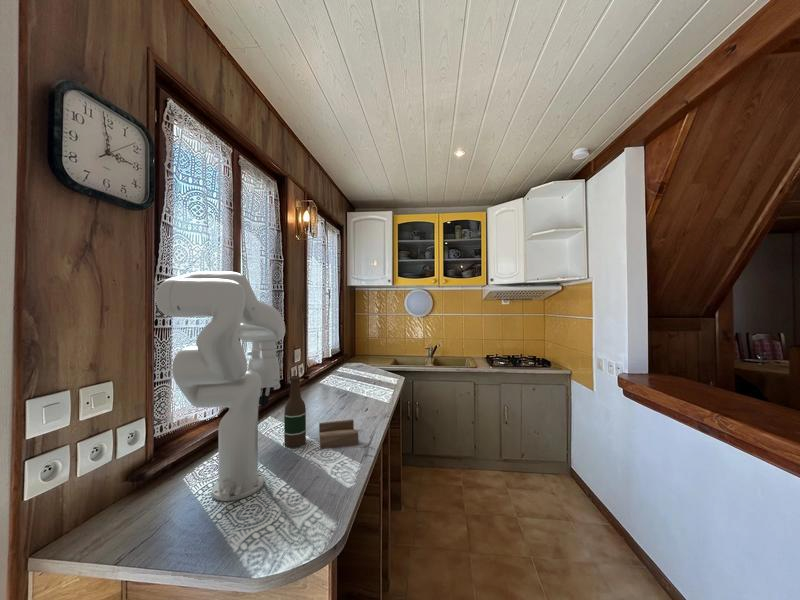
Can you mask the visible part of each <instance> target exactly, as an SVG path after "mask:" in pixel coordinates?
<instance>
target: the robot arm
mask: <svg viewBox="0 0 800 600" xmlns="http://www.w3.org/2000/svg"><path fill="white" fill-rule="evenodd" d="M155 303H156V307H157V308H158V310H159V311H160V312H161V313H162V314H164V315H165V316H167V317H172V318H196V317H197V318H201V317H202V318H209V317H210V318H211V320H210V322H209V323H207V324H206V325H205V326H204V327H203V328H202V330H200V332H199V333H198V335H197V337H196V341H195V345H190V346H186V347H183V348H181V349H180V350H179V351H178V352H177V353H176V354H175V356H174V358H173V360H172V365H171V366H172V372H171V373H172V378H173V379H174V382H175V384H176V386H177V387H178V389H180V391H181V393H182V394H183V396H184V397H185V398H186V400H187V401H188V402H189V404H190V405H192V406H194V407H195V408H198V409H199V408H200V409H204V408H205V409H207V408H228V411H227V412H226V413H225V414H224V415H223V417H222V418H221V419H220V421H219V425H218V467H217V468H218V471H217V472H218V481H217V482H216V483H215V484H214V485H213V486H212V488H211V496H212V498H213V499H215V500H217V501H222V502H230V501H237V500H241V499H244V498H247V497H248V496H251V495H253V494H255V493H257V492H258V491H259V490H260V489H261V488H262V487H263V486H264V483H265V477H264V474H262V473H260V472H259V464H258V463H259V461H258V460H259V448H258V447H259V430H258V429H259V406H260V408H261V409H263V408H267V406H268V405H269V404H270V394H271V393H272V392H273V391H276V390H279V389H280V388H281V383H280V379H281V378H280V364H279V359H278V356H276V342H279V341H282V340H283V338H284V337H285V335H286V324H285V321H284V319H283V316H282V314H281V312H280V311H279V310H277V308H275V307H273V306H271V305H269V304H267V303H265V302H263V301H261V300H259V299H258V298H257V296H256V294H255V292H254V289H253V288H252V285H250V282H249V280H248V279H247V278H246V277H245V275H243V274H241V273H239V272H236V271H209V270H208V271H203V270H202V271H193V272H190V273H185V274H182V275H178V276H174V277H170V278H167V279H165V280H163V282H161V284H159V286H158V288H157V290H156V293H155ZM240 340H241V341H243V342H245V343H252V344H251V350H249V351H247V356H251V358H250V359H248V360H247V357H246V353H245V351H244V349H243V346H242V343H241V341H240ZM264 388H265V392H263V389H264Z"/></svg>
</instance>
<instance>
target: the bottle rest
mask: <svg viewBox="0 0 800 600" xmlns="http://www.w3.org/2000/svg"><path fill="white" fill-rule="evenodd" d="M318 423H319V424H318V425H319V426H318V427H319V428H318V429H319V430H318V434H319V446H320V448H319V449H320V450H322V449H330V448H338V447H339V448H340V447H345V446H346V447H347V446H355V445H359V432H358V430H356V431H355V429H354V426H355V425H354V419H346V420H345V419H344V420H335V421H326V422H324V421H323V422H318Z"/></svg>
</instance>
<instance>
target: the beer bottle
mask: <svg viewBox="0 0 800 600" xmlns="http://www.w3.org/2000/svg"><path fill="white" fill-rule="evenodd" d="M289 378H290V379H289V380H290V386H289V387H290V390H289V399H288V400H287V402H286V404H285V406H284V414H283V415H284V416H283V417H284V419H283V421H284V423H283V424H284V426H283V427H284V431H283V432H284V433H283V434H284V435H283V436H284V437H283V439H284V442H283V443H284V447H285V448H288V449H289V448H290V449H295V448H301V447H303V446H304V445H305V444H306V440H307V439H306V438H307V435H306V434H307V429H306V428H307V427H306V426H307V419H306V418H307V416H306V415H307V413H306V412H307V411H306V409H307V407H306V403H305V401H304V399H303V398H302V397H301V395H302V394H301V382H300V380H301V376H300V375H297V374H296V375H295V374H294V375H291V376H290V377H289Z"/></svg>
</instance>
